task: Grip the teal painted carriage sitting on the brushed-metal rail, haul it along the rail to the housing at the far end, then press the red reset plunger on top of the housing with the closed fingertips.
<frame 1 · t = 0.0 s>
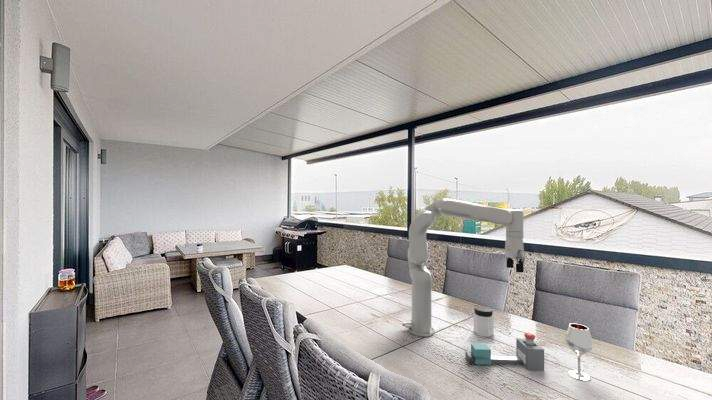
hand: (514, 269, 142), 31 cm above the table, fingers open, 9 cm apart
jar: (483, 333, 143), on the table
plunger: (529, 341, 116), point 9 cm above the table, slide at 0.0 cm
wineglass: (579, 376, 108), on the table
rail: (496, 362, 116), on the table
carriage: (480, 353, 117), point 3 cm above the table, slide at 0.0 cm
housing: (529, 363, 115), on the table
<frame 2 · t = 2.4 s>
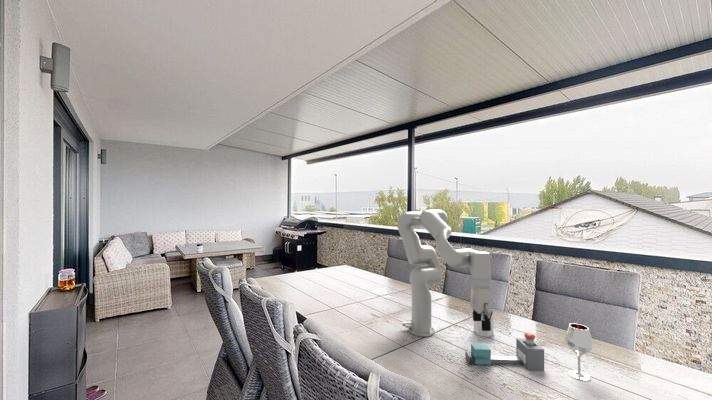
hand: (481, 325, 116), 15 cm above the table, fingers open, 9 cm apart
nothing on the table moved.
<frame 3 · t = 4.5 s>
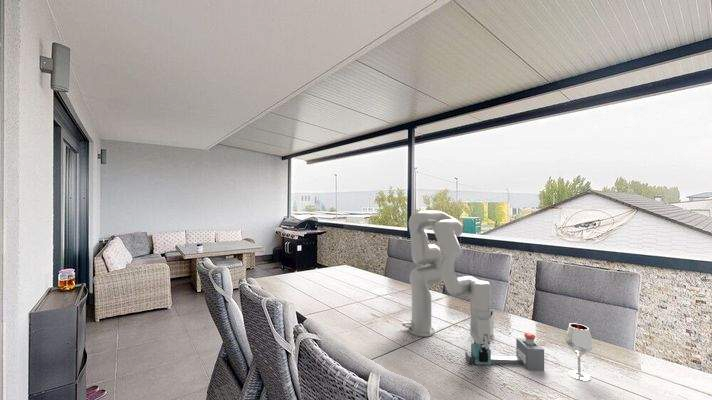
hand: (480, 357, 117), 2 cm above the table, fingers closed on carriage, 5 cm apart
carriage: (480, 353, 117), point 3 cm above the table, slide at 0.0 cm, touching gripper
everything else where it was.
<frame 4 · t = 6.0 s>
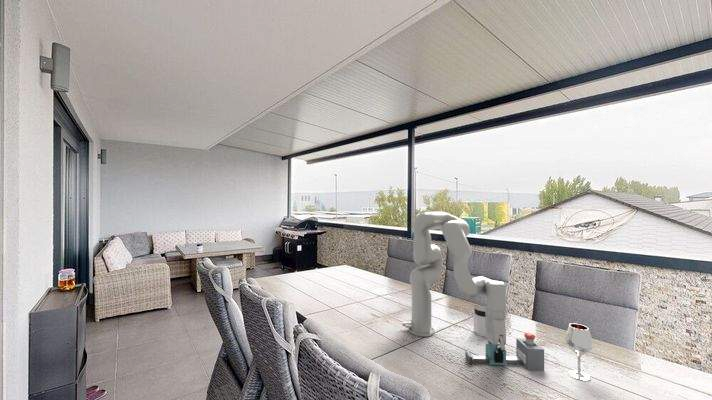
hand: (495, 357, 116), 2 cm above the table, fingers closed on carriage, 5 cm apart
carriage: (495, 354, 116), point 3 cm above the table, slide at 5.9 cm, touching gripper
everything else where it was.
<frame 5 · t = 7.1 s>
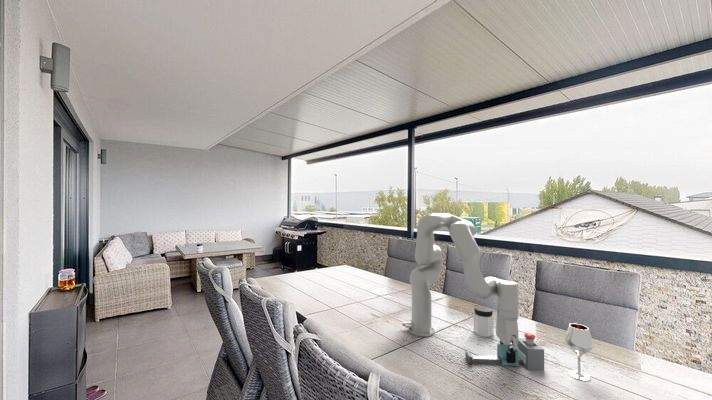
hand: (507, 358, 116), 2 cm above the table, fingers closed on carriage, 5 cm apart
carriage: (507, 354, 116), point 3 cm above the table, slide at 10.5 cm, touching gripper
everything else where it was.
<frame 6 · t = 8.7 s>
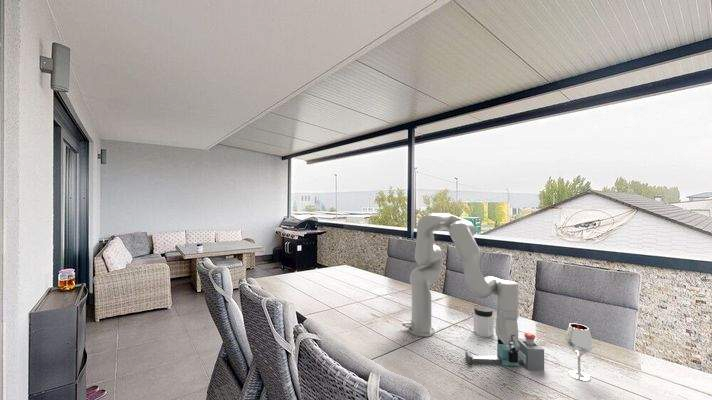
hand: (507, 355, 116), 3 cm above the table, fingers open, 9 cm apart
carriage: (507, 354, 116), point 3 cm above the table, slide at 10.5 cm
everything else where it was.
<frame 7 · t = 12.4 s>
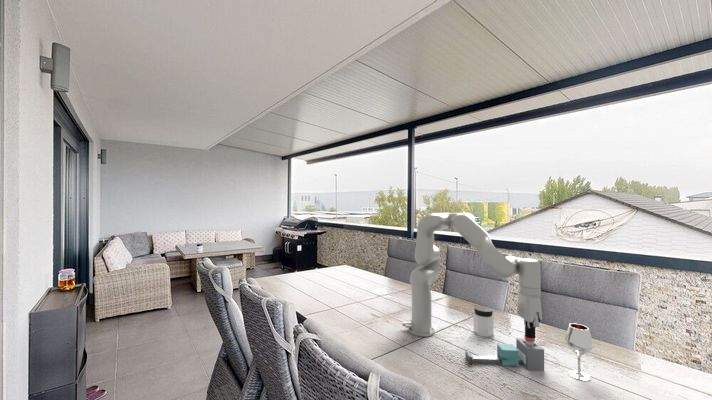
hand: (530, 337, 116), 11 cm above the table, fingers closed
plunger: (529, 343, 116), point 8 cm above the table, slide at 0.9 cm, touching gripper
everything else where it was.
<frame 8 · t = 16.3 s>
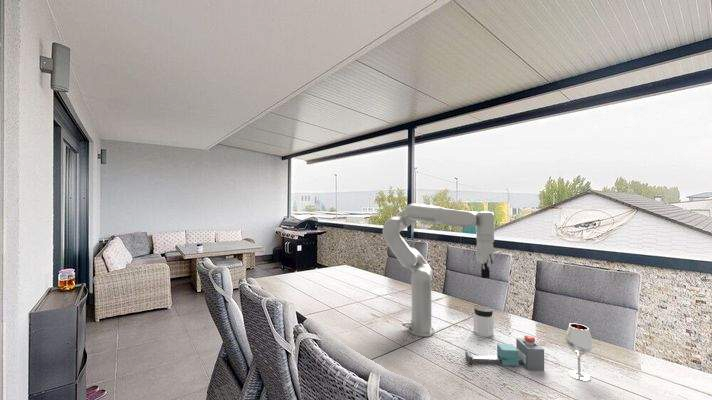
hand: (485, 277, 135), 29 cm above the table, fingers closed
plunger: (529, 343, 116), point 8 cm above the table, slide at 1.1 cm
everything else where it was.
at the end: carriage slide at 10.5 cm; plunger slide at 1.1 cm; the gripper is holding nothing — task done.
